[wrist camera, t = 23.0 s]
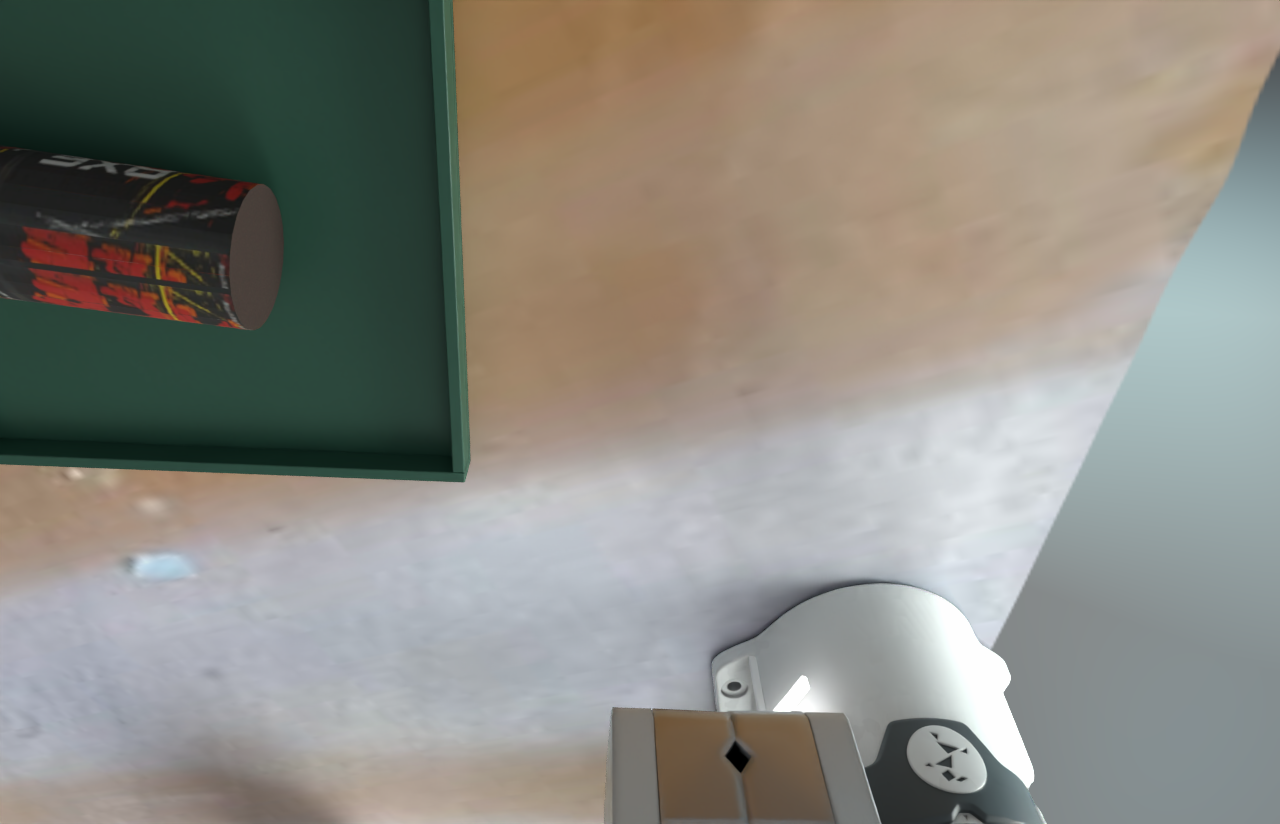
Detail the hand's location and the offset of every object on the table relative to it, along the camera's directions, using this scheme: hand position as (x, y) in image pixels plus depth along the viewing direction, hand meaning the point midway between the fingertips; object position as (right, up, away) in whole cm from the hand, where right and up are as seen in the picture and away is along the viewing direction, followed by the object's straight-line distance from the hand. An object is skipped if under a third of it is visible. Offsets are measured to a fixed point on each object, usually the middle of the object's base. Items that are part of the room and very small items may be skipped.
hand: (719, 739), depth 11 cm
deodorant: (-16, +11, +23) cm, 30 cm away
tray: (-21, +12, +26) cm, 35 cm away
